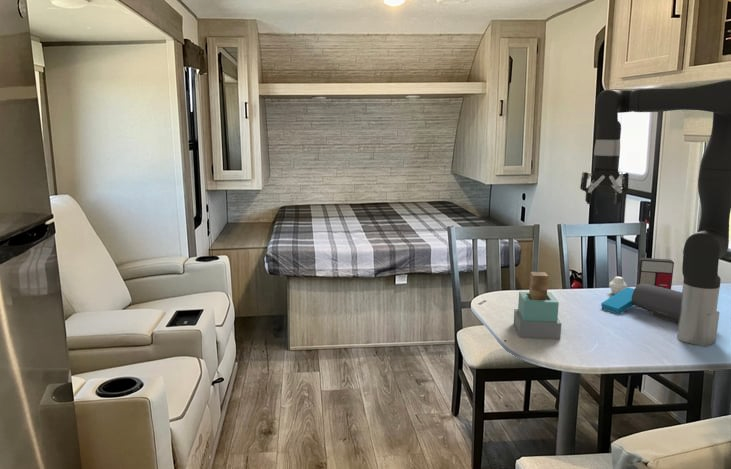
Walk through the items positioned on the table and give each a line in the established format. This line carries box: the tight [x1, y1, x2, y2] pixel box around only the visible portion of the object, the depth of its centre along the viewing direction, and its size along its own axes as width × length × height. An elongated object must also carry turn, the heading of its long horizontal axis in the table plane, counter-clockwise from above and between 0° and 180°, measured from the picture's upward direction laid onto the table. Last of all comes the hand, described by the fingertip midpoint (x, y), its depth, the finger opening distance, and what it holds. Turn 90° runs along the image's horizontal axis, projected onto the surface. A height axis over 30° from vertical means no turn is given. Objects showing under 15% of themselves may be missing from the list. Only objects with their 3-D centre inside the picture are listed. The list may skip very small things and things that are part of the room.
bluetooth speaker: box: [632, 284, 682, 324], centre depth 181 cm, size 23×9×10 cm, turn 29°
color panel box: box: [636, 257, 675, 290], centre depth 202 cm, size 11×4×15 cm, turn 73°
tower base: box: [513, 291, 562, 340], centre depth 170 cm, size 12×12×11 cm
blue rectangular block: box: [600, 286, 635, 315], centre depth 194 cm, size 7×7×18 cm
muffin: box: [609, 276, 628, 295], centre depth 209 cm, size 6×6×7 cm
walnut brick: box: [528, 271, 549, 300], centre depth 168 cm, size 4×4×8 cm
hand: (602, 204), depth 178 cm, fingers open, 8 cm apart
